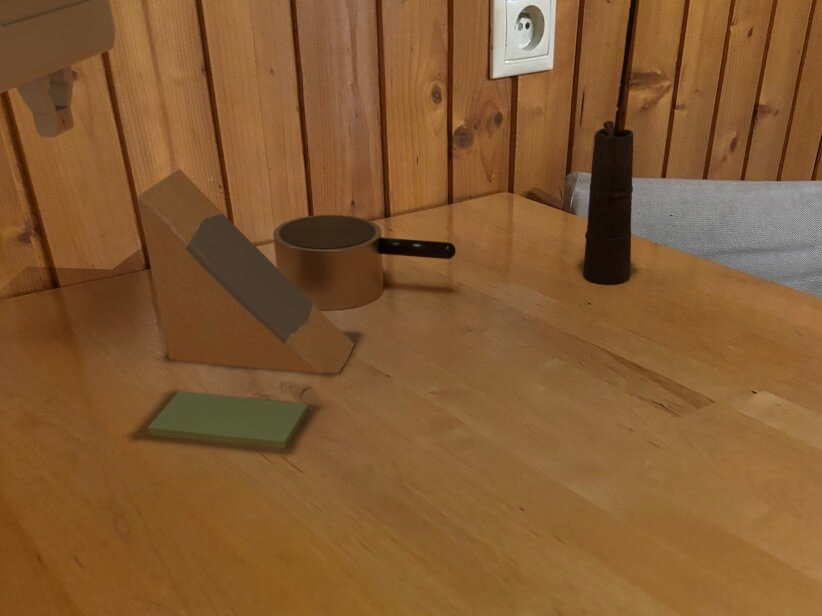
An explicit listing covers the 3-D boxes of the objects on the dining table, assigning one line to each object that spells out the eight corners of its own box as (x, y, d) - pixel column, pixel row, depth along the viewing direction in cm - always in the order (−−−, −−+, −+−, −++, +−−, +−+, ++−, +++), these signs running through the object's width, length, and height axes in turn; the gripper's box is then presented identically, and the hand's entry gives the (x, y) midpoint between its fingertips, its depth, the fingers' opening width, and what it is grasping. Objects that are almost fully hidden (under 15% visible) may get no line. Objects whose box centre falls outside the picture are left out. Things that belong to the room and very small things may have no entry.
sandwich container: (333, 384, 83) (320, 208, 73) (168, 369, 85) (135, 195, 75) (357, 343, 89) (348, 177, 80) (204, 330, 91) (177, 166, 82)
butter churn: (563, 254, 108) (589, -37, 91) (646, 261, 107) (689, -33, 89) (554, 283, 101) (580, -26, 84) (643, 291, 100) (688, -21, 82)
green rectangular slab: (139, 446, 74) (135, 430, 73) (174, 405, 79) (171, 389, 78) (285, 462, 73) (283, 445, 72) (311, 419, 78) (309, 402, 77)
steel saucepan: (265, 305, 96) (258, 245, 92) (297, 267, 104) (292, 210, 100) (445, 320, 94) (445, 259, 90) (463, 280, 102) (464, 223, 98)
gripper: (43, -86, 77) (80, 101, 85) (-116, -65, 61) (-50, 162, 70) (116, -82, 76) (146, 107, 85) (-26, -59, 60) (29, 169, 69)
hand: (56, 132), depth 77 cm, fingers closed
